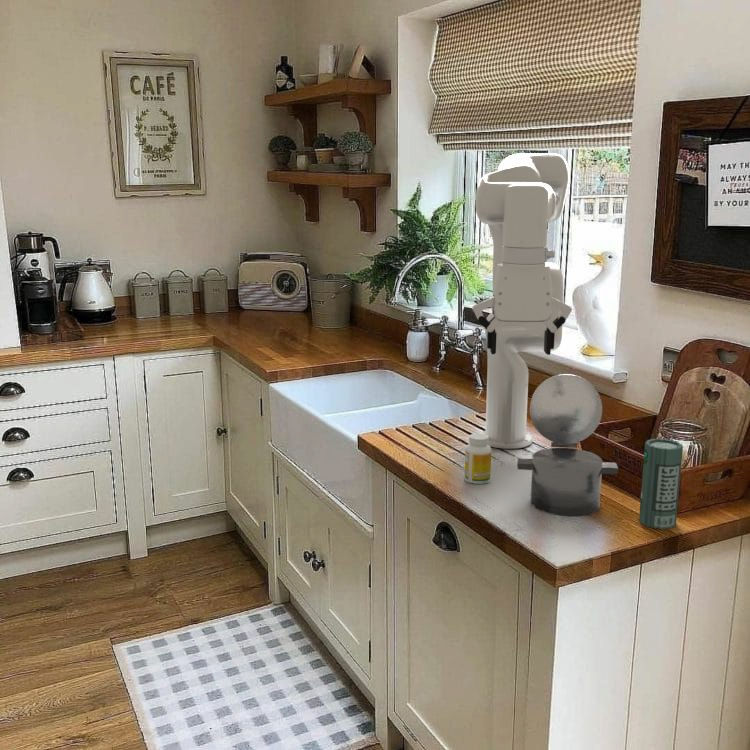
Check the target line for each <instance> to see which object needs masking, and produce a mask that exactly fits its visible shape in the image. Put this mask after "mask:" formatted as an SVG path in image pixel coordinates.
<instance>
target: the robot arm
mask: <svg viewBox="0 0 750 750" xmlns="http://www.w3.org/2000/svg"><path fill="white" fill-rule="evenodd" d="M568 165H569V164H568V163H567V160H566V159H565V158H564V157H563V156H562V155H561V154H558V153H516V154H512V155H509V156H507V157H505V158H504V159H503V160H502V161H501V163H500V164H499V166H498V169H497V170H495V171H493V172H489V173H487V174H485V175H483V176H482V177H481V178H480V180H479V181H478V184H477V187H476V193H475V212H476V215H477V218H478V220H479V221H480V222H481V223H483V224H485V225H487V227H488V229H489V231H490V233H491V238H492V243H493V245H492V246H493V249H492V251H493V253H492V254H493V255H492V256H493V257H492V296H490V297H488V298H486V299H484V300H482V301H481V302H480V301H479V302H478V303H476V304H475V305H473V306H472V311H473V313H474V314H475V317H476V319H477V320H478V322H479V323H480V325H481V326H482V327H484V333H485V343H486V352H487V353H486V354H487V355H486V356H487V374H486V375H487V376H486V377H487V378H486V379H487V380H486V404H485V406H486V409H485V430H483V431H482V432H480V434H486V435H488V436H489V443H488V444H487V445H489V446H490V447H492V448H496V449H505V450H506V449H507V450H508V449H510V450H511V449H512V450H513V449H521V448H525V447H528V446H530V445H531V444H532V443H533V436H532V435H531V434H530V433H528V432H527V415H528V414H527V413H528V393H529V367H528V365H527V364H526V362H525V361H524V359H523V358H522V357H521V356H520V354H519V353H520V352H544V353H545V355H548V356H551V354H552V353H551V352H553V351H556V350H558V349H559V347H560V346H561V342H562V339H563V338H562V337H563V325H564V324H565V323H566V320H567V319H569V318H568V317H569V316H570V314H571V313H572V309H573V308H572V307H571V306H570V305H568V304H566V303H564V276H563V272H562V269H561V268H560V266H559V265H558V264H556V263H553V262H547V261H548V260H550V259H554V258H555V256H556V255H555V254H556V253H555V250H554V249H553V250H551V249H549V248H548V247H547V241H548V240H547V239H548V223H549V222H555V221H557V220H558V219H559V218H561V216H562V214H563V211H564V206H565V203H566V202H565V201H566V196H567V191H568V188H569V184H570V183H569V182H570V171H569V166H568ZM490 307H491V312H490V313H489V314H488V315H487V317H486V316H484V314H483V311H484V310H485V309H487V308H490ZM518 352H519V353H518Z"/></svg>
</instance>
